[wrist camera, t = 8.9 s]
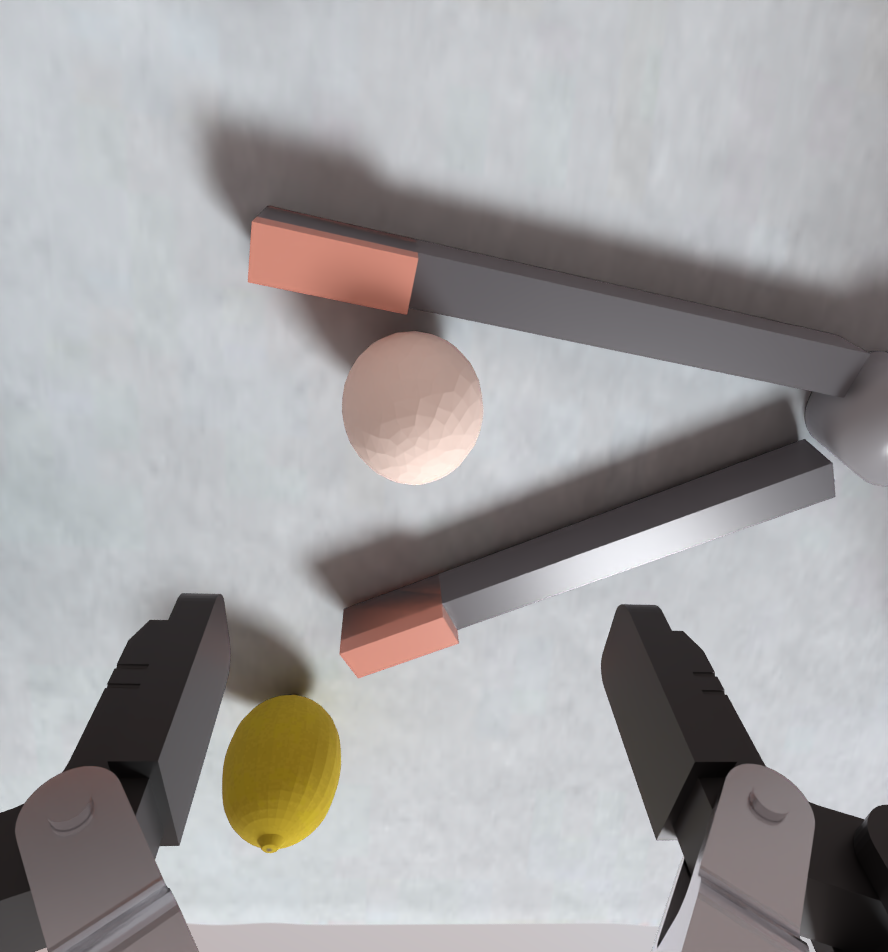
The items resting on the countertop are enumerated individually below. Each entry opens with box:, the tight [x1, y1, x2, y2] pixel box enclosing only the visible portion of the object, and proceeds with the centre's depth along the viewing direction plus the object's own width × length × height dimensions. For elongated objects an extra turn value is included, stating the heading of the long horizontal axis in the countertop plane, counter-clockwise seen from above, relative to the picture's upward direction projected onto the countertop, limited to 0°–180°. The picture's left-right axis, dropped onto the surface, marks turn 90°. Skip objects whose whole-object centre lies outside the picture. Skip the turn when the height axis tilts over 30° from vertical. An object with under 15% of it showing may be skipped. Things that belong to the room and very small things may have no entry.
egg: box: [342, 331, 483, 485], centre depth 21 cm, size 5×5×7 cm
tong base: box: [248, 206, 888, 486], centre depth 23 cm, size 27×5×3 cm, turn 77°
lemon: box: [222, 695, 341, 853], centre depth 30 cm, size 6×6×8 cm
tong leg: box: [340, 439, 835, 678], centre depth 28 cm, size 22×2×3 cm, turn 113°
